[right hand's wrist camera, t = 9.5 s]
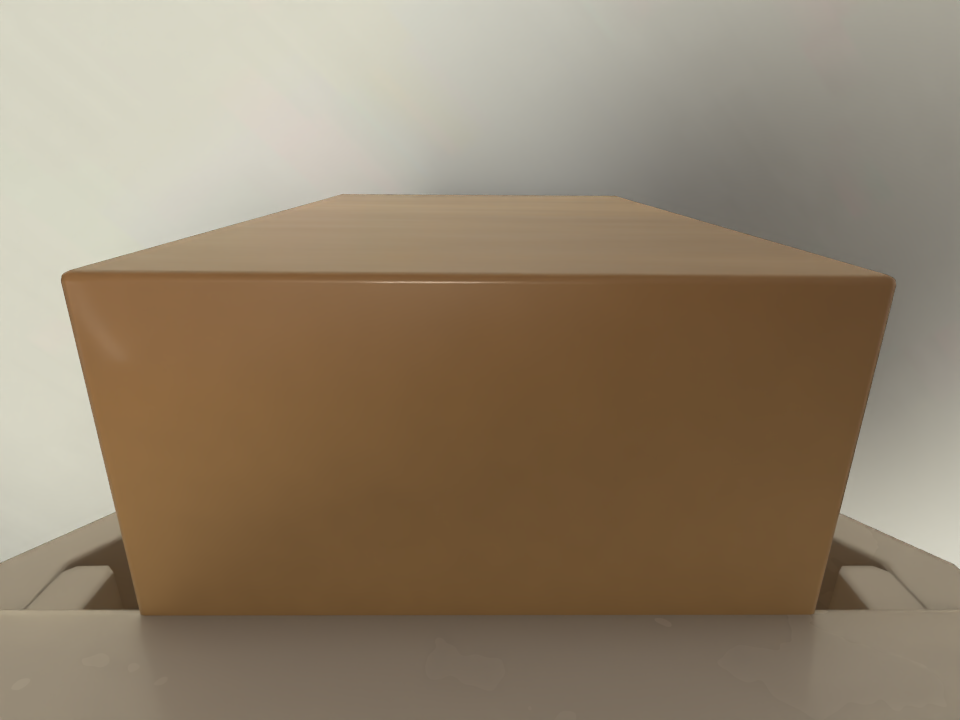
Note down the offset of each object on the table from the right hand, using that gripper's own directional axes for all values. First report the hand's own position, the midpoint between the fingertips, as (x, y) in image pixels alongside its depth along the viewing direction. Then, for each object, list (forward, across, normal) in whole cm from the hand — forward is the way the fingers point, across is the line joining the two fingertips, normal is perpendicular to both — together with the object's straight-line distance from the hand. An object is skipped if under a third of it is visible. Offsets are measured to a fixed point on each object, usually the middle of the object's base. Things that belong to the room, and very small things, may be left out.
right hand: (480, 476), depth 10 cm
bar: (+3, 0, -9) cm, 10 cm away
